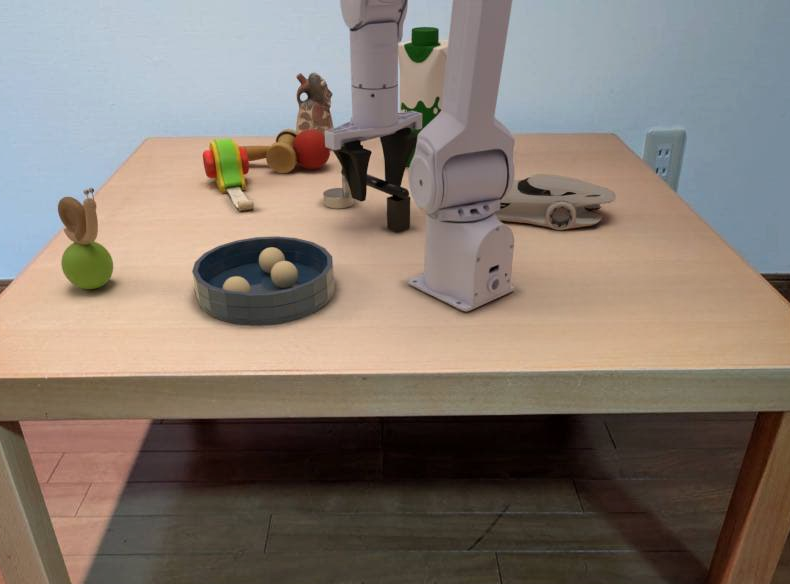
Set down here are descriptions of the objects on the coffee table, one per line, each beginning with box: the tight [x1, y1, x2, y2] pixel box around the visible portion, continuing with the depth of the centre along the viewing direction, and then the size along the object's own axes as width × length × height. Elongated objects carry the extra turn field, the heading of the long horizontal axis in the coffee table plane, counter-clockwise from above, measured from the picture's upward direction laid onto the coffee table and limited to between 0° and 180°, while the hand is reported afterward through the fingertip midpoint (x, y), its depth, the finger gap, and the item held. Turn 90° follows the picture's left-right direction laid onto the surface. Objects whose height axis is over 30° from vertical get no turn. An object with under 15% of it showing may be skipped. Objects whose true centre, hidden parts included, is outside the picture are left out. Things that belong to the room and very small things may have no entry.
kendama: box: [238, 128, 331, 174], centre depth 117 cm, size 8×6×18 cm
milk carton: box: [398, 26, 449, 168], centre depth 114 cm, size 9×9×20 cm
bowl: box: [191, 235, 335, 326], centre depth 81 cm, size 15×15×4 cm
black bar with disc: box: [322, 167, 411, 234], centre depth 100 cm, size 17×4×6 cm, turn 40°
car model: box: [494, 173, 617, 231], centre depth 100 cm, size 11×24×5 cm, turn 78°
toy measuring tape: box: [202, 137, 255, 212], centre depth 108 cm, size 6×20×7 cm, turn 20°
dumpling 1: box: [222, 276, 251, 293], centre depth 78 cm, size 3×3×3 cm
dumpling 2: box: [259, 247, 285, 274], centre depth 84 cm, size 3×3×3 cm
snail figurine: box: [57, 187, 114, 290], centre depth 80 cm, size 5×6×12 cm
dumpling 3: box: [271, 261, 298, 288], centre depth 81 cm, size 3×3×3 cm
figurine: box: [295, 72, 335, 151], centre depth 125 cm, size 7×7×12 cm
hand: (376, 193), depth 97 cm, fingers open, 5 cm apart
